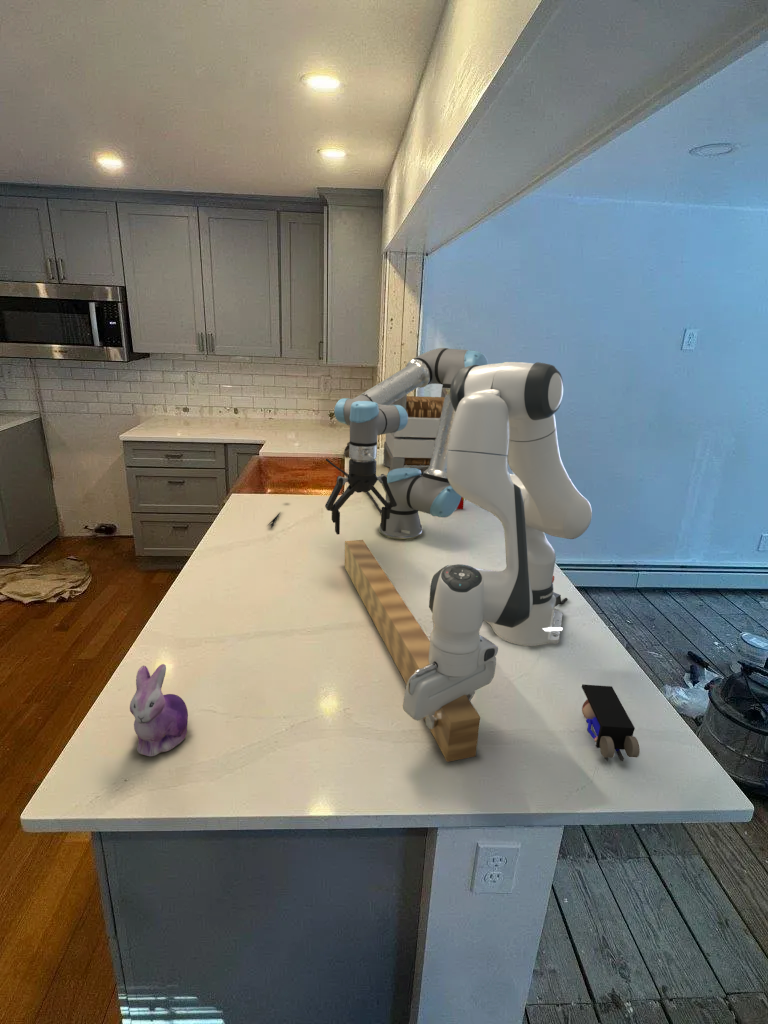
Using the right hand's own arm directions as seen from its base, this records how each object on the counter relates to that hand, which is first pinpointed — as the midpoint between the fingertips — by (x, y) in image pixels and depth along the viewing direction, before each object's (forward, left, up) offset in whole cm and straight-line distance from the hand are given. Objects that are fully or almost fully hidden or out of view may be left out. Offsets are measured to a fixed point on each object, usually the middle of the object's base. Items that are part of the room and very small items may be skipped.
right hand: (447, 717), depth 106 cm
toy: (-128, -60, -3) cm, 141 cm away
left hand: (-45, -49, +11) cm, 68 cm away
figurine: (+31, -41, -3) cm, 52 cm away
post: (-22, -25, -3) cm, 33 cm away
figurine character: (-14, +26, -3) cm, 30 cm away
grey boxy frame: (-155, -88, -3) cm, 178 cm away
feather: (-69, -102, -3) cm, 123 cm away
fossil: (-167, -134, -3) cm, 214 cm away
